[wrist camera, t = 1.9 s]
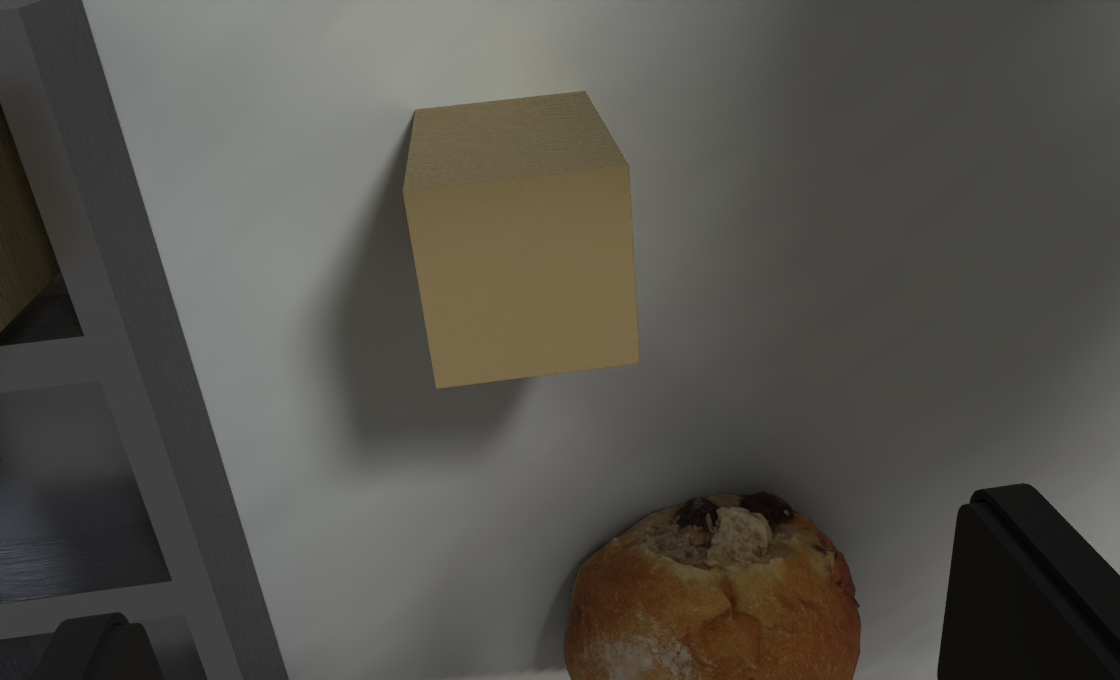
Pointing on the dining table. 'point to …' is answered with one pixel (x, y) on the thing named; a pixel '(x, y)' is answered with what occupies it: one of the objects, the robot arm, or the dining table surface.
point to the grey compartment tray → (107, 399)
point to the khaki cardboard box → (20, 234)
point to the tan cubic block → (521, 239)
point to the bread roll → (715, 598)
